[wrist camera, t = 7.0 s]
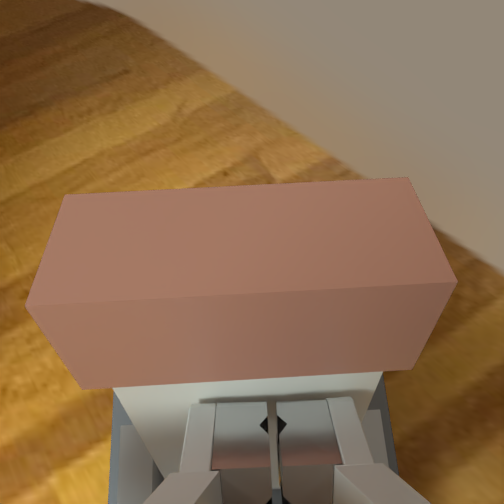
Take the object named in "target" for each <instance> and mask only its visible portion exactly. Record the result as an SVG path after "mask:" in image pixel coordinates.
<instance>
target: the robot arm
mask: <svg viewBox="0 0 504 504" xmlns="http://www.w3.org/2000/svg"><path fill="white" fill-rule="evenodd" d="M275 412H276V428H277V434H276V443H277V465H278V477H279V486H280V494H281V504H431V503H430V502H429V501H428V500H426V499H425V498H424V497H423V496H422V495H421V494H419V493H418V492H417V491H416V490H415V489H413V488H412V487H411V486H410V485H409V484H407V483H406V482H405V481H404V480H403V479H401V478H400V477H399V476H398V475H397V474H396V473H394V472H393V471H392V470H391V469H390V468H388V467H387V466H386V465H385V464H384V463H375V462H374V459H373V456H372V453H371V450H370V447H369V444H368V441H367V438H366V435H365V432H364V429H363V426H362V424H361V421H360V418H359V415H358V412H357V409H356V406H355V403H354V400H353V399H352V398H351V397H335V398H325V399H309V400H290V401H275ZM143 504H272V479H271V460H270V443H269V433H268V413H267V402H231V403H217V404H216V403H209V404H191V406H190V409H189V412H188V419H187V425H186V431H185V437H184V443H183V449H182V455H181V462H180V468H179V472H178V473H170V474H169V475H168V476H167V478H166V479H165V480H164V481H163V482H162V483H161V484H160V485H159V486H158V487H157V489H156V490H155V491H154V492H153V493H152V494H151V495H150V496H149V497H148V498H147V499H146V501H145V502H144V503H143Z"/></svg>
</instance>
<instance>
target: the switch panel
mask: <svg viewBox="0 0 504 504" xmlns="http://www.w3.org/2000/svg"><path fill="white" fill-rule="evenodd" d="M361 424H362V426H363V429H364V432H365V435H366V438H367V441H368V444H369V447H370V450H371V453H372V456H373V459H374V462H375V463H384V464H385V465H386V466H387V467H388V468H390V469H391V470H392V471H393V472H394V473H396V474H397V475H398V476H399V472H398V466H397V459H396V453H395V447H394V440H393V434H392V428H391V422H390V415H389V409H388V403H387V396H386V390H385V384H384V378H383V373H382V375H381V378H380V380H379V383H378V385H377V387H376V390H375V392H374V394H373V397H372V399H371V402H370V404H369V406H368V409H367V411H366V414H365V416H364V418H363V421H362V423H361ZM164 480H165V479H164V477H163V475H162V474H161V472H160V470H159V468H158V467H157V465H156V463H155V461H154V460H153V458H152V456H151V454H150V453H149V451H148V449H147V448H146V446H145V444H144V442H143V441H142V439H141V437H140V435H139V434H138V432H137V430H136V428H135V427H134V425H133V423H132V421H131V420H130V418H129V416H128V414H127V413H126V411H125V409H124V407H123V406H122V404H121V402H120V400H119V399H118V397H117V395H116V393H115V392H114V398H113V418H112V437H111V457H110V476H109V496H108V504H143V503H144V502H145V501H146V499H147V498H148V497H149V496H150V495H151V494H152V493H153V492H154V491H155V490H156V489H157V487H158V486H159V485H160V484H161V483H162V482H163V481H164ZM272 504H281V494H280V489H273V490H272Z"/></svg>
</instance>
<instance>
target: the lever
mask: <svg viewBox="0 0 504 504" xmlns="http://www.w3.org/2000/svg"><path fill="white" fill-rule="evenodd" d="M457 283H458V281H457V279H456V277H455V275H454V273H453V270H452V268H451V266H450V264H449V262H448V260H447V258H446V256H445V254H444V251H443V249H442V247H441V245H440V243H439V241H438V239H437V237H436V235H435V233H434V230H433V228H432V226H431V224H430V222H429V220H428V218H427V216H426V214H425V212H424V210H423V208H422V205H421V203H420V201H419V199H418V197H417V195H416V193H415V190H414V188H413V186H412V184H411V182H410V180H409V178H408V177H404V178H403V177H402V178H382V179H363V180H343V181H324V182H304V183H285V184H265V185H245V186H226V187H206V188H187V189H167V190H148V191H128V192H109V193H89V194H69V195H65V196H64V199H63V201H62V204H61V207H60V210H59V213H58V215H57V218H56V221H55V224H54V226H53V229H52V232H51V235H50V237H49V240H48V243H47V246H46V248H45V251H44V254H43V257H42V260H41V262H40V265H39V268H38V271H37V273H36V276H35V279H34V282H33V284H32V287H31V290H30V293H29V296H28V298H27V301H26V304H25V307H26V309H27V310H28V312H29V313H30V315H31V316H32V318H33V319H34V320H35V322H36V323H37V325H38V326H39V328H40V329H41V331H42V332H43V334H44V335H45V336H46V338H47V339H48V341H49V342H50V344H51V345H52V347H53V348H54V349H55V351H56V352H57V354H58V355H59V357H60V358H61V360H62V361H63V362H64V364H65V365H66V367H67V368H68V370H69V371H70V373H71V374H72V376H73V377H74V378H75V380H76V381H77V383H78V384H79V386H80V387H81V389H82V390H84V389H100V388H113V390H114V392H115V393H116V395H117V397H118V399H119V400H120V402H121V404H122V406H123V407H124V409H125V411H126V413H127V414H128V416H129V418H130V420H131V421H132V423H133V425H134V427H135V428H136V430H137V432H138V434H139V435H140V437H141V439H142V441H143V442H144V444H145V446H146V448H147V449H148V451H149V453H150V454H151V456H152V458H153V460H154V461H155V463H156V465H157V467H158V468H159V470H160V472H161V474H162V475H163V477H164V479H166V478H167V476H168V475H169V474H170V473H178V472H179V468H180V462H181V455H182V449H183V443H184V437H185V431H186V425H187V419H188V412H189V409H190V406H191V404H209V403H216V404H217V403H231V402H267V413H268V433H269V443H270V460H271V479H272V490H273V489H280V486H279V477H278V465H277V443H276V434H277V428H276V412H275V401H290V400H309V399H325V398H335V397H351V398H352V399H353V400H354V403H355V406H356V409H357V412H358V415H359V418H360V421H361V423H362V421H363V418H364V416H365V414H366V411H367V409H368V406H369V404H370V402H371V399H372V397H373V394H374V392H375V390H376V387H377V385H378V383H379V380H380V378H381V375H382V373H383V371H398V370H412V369H413V367H414V365H415V363H416V361H417V359H418V358H419V356H420V354H421V352H422V350H423V348H424V346H425V344H426V342H427V340H428V338H429V336H430V334H431V333H432V331H433V329H434V327H435V325H436V323H437V321H438V319H439V317H440V315H441V313H442V311H443V310H444V308H445V306H446V304H447V302H448V300H449V298H450V296H451V294H452V292H453V290H454V288H455V286H456V285H457Z"/></svg>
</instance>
